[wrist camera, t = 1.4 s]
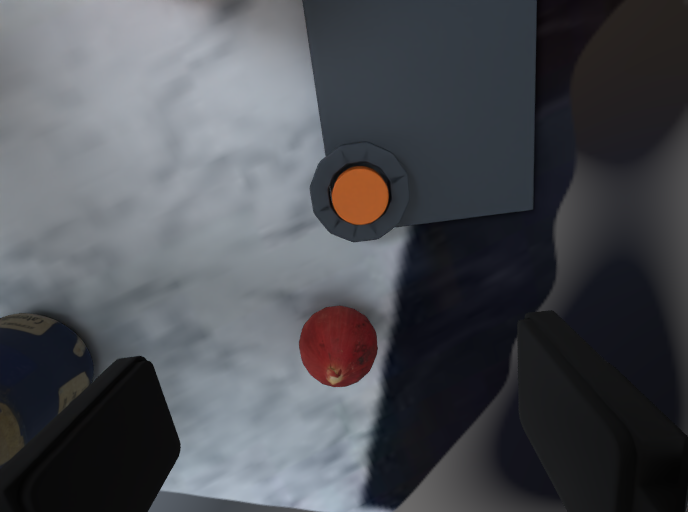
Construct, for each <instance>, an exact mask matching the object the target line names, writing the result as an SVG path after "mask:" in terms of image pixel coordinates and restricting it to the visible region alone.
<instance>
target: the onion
mask: <svg viewBox="0 0 688 512" xmlns="http://www.w3.org/2000/svg"><path fill="white" fill-rule="evenodd" d="M299 349H300V354H301V359H302V362H303V364H304V366H305V367H306V369H307V370H308V372H309V373H310V375H311V376H313V377H314V378H315V379H317V380H318V381H319V382H321V383H322V384H325V385H328V386H332V387H346V386H349V385H351V384H354V383H356V382H358V381H359V380H360V379H361V378H363V377H364V376H365V375H366V374H367V373H368V372H369V371H370V369H371V367H372V365H373V362H374V360H375V358H376V355H377V350H378V347H377V336H376V332H375V329H374V328H373V326H372V325H371V323H370V321H369V320H368V318H367V317H366V316H365V315H363V314H361V313H360V312H358V311H356V310H355V309H352V308H348V307H344V306H333V307H326V308H324V309H322V310H320V311H318V312H316V313H314V314H313V315H312V316H311V317H310V319H309V320H308V321H307V322H306V323H305V325H304V327H303V329H302V332H301V336H300V340H299Z"/></svg>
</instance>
